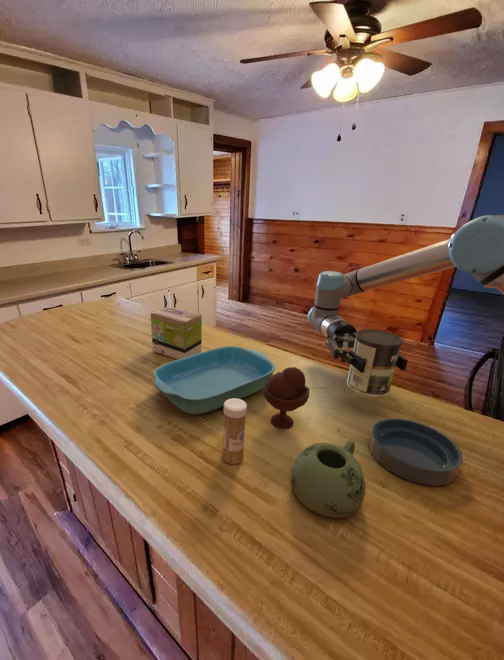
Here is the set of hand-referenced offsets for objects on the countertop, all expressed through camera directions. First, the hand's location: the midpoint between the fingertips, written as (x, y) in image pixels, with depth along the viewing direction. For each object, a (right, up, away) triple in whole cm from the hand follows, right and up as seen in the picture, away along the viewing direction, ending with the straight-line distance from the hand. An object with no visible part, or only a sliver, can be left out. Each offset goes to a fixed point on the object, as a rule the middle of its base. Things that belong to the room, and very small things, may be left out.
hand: (384, 366), depth 80 cm
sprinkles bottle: (-37, -19, -9) cm, 42 cm away
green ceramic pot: (-19, -22, -16) cm, 33 cm away
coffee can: (-1, -6, +7) cm, 9 cm away
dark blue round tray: (+1, -19, -8) cm, 20 cm away
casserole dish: (-40, -8, +17) cm, 44 cm away
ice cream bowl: (-24, -14, +3) cm, 28 cm away
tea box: (-53, +1, +39) cm, 66 cm away
